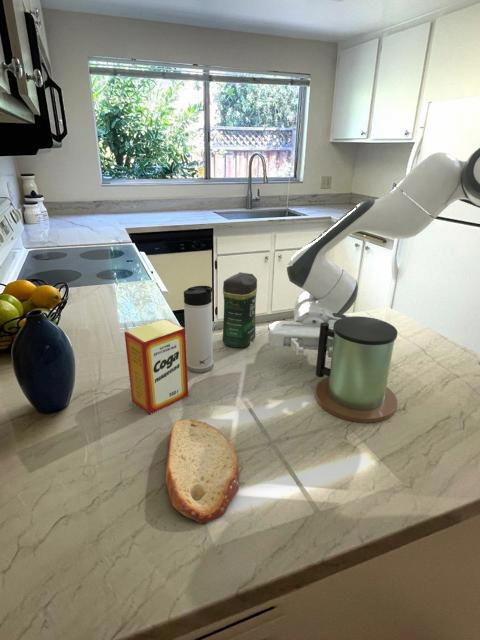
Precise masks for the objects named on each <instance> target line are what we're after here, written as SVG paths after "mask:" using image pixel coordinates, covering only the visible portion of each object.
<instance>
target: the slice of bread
mask: <svg viewBox="0 0 480 640" xmlns="http://www.w3.org/2000/svg"><path fill="white" fill-rule="evenodd" d="M167 450H168V451H167V457H166V463H165V464H166V465H165V486H166V489H167V491H168V497H169V499H170V503H171V504H172V506H173V507H174V509H175V510H177V511H178V512H179V514H181V515H183V516H184V517H186V518H188V519H191V520H192V521H193V520H194V521H195V522H197V523H198V524H207V523H209V522H211V521H214V520H216V519H219V518H220V517H222V516H223V515H224V514H225V513H226V512H227V509H228V507H229V506H230V504H231V503H232V501H233V499H234V497H235V496H236V495H237V493H238V491H239V488H240V468H239V464H238V463H239V461H238V455H237V452H236V449H235V448H234V445H233V444H232V443H231V442H230V441H228V440H227V439H226V438H225V437H224V435H223V433H222V432H221V431H220V430H218V429H217V428H216V427H214V426H212V425H210V424H208V423H207V422H204V421H201V420H196V419H180V420H178V421H176V422H175V423H174V424H173V426H172V428H171V431H170V434H169V439H168V445H167Z"/></svg>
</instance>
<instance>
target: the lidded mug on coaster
mask: <svg viewBox="0 0 480 640" xmlns="http://www.w3.org/2000/svg"><path fill="white" fill-rule="evenodd" d="M328 336H329V337H332V338H334V341H333V350H332V357H331V359H330V360H331V361H330V368H329V367H326V360H327V353H328V351H327V342H328ZM397 338H398V330H397V328H396V327H395V326H394V325H392V324H391V323H389V322H387V321H384V320H382V319H379V318H375V317H369V316H361V315H360V316H359V315H358V316H357V315H356V316H355V315H354V316H350V317H345V318H341V319H338V320H337V321H336V322H335V323H334V326H333V329H330V328H329V323H325V322H323V323H321V324H320V333H319V344H318V350H317V355H316V366H315V376H316V377H317V378H323V377H324V376H326V377H325V378H323V379H321V380H320V381H319V382H318V383H317V385H316V386H315V391H314V392H315V393H314V394H315V396H314V397H315V400H316V401H317V403H318V405H319V406H320V407H321V409H323V410H324V411H326V412H327V413H329V414H331V415H332V416H334V417H336V418H339V419H342V420H345V421H348V422H353V423H362V424H374V423H380V422H383V421H386V420H388V419H389V418H391V417H393V415H394V414H395V413H396V411H397V408H398V399H397V396H396V394H395V393H394V392H393V390H392V389H390V388H389V387H388V386H387V385H388V379H389V374H390V369H391V362H392V357H393V351H394V346H395V341H396V340H397Z"/></svg>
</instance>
